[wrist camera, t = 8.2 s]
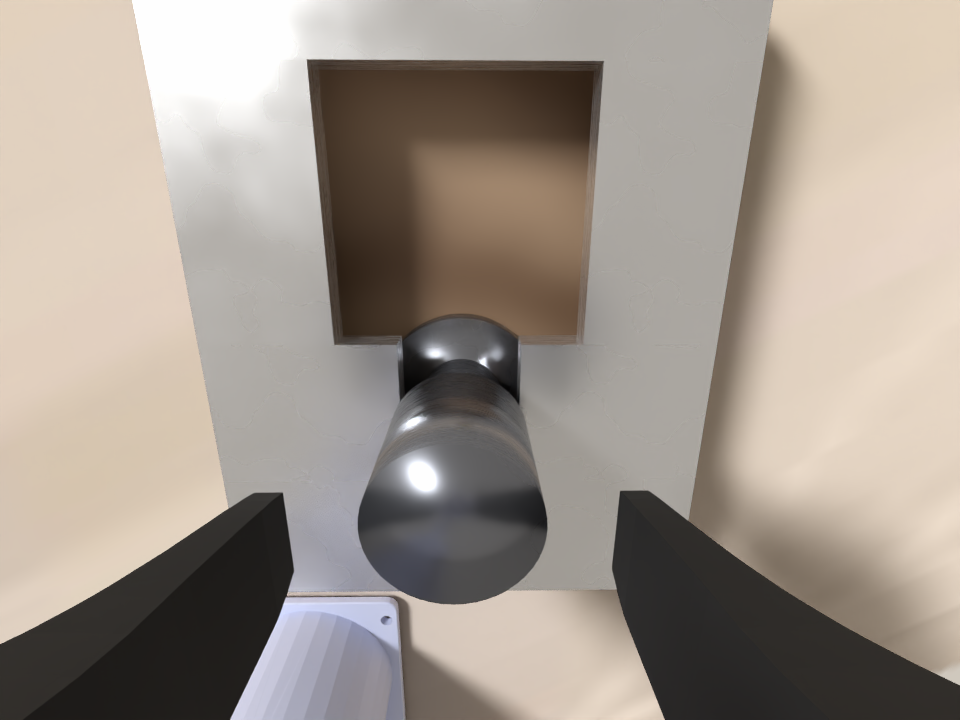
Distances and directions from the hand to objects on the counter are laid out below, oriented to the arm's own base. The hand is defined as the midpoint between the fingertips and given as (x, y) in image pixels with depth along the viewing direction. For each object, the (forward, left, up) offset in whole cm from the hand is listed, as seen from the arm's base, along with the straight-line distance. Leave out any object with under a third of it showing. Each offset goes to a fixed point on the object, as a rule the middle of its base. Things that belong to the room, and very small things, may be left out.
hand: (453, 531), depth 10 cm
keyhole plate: (+4, 0, -8) cm, 9 cm away
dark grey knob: (0, 0, -8) cm, 8 cm away
